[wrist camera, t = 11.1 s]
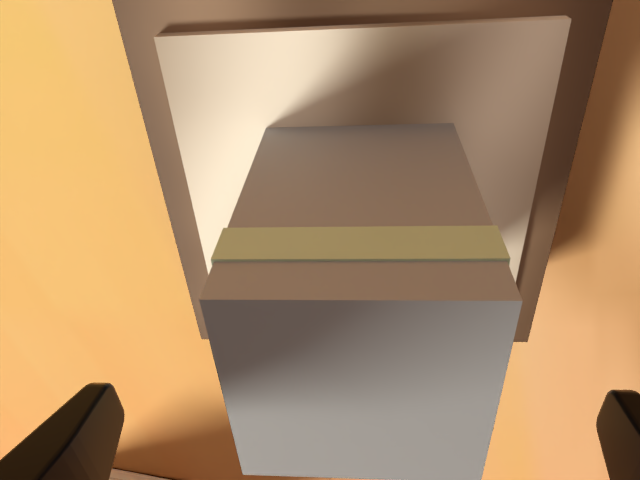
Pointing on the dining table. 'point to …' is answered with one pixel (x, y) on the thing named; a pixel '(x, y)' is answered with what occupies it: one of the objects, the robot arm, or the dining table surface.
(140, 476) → the supplement box
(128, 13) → the stand
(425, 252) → the grey striped cube
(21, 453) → the robot arm
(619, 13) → the dining table surface
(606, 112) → the dining table surface
